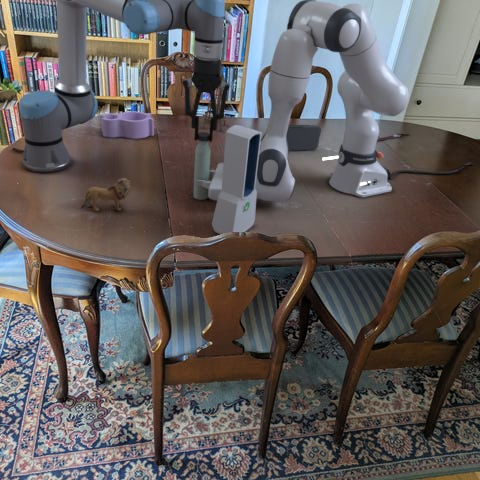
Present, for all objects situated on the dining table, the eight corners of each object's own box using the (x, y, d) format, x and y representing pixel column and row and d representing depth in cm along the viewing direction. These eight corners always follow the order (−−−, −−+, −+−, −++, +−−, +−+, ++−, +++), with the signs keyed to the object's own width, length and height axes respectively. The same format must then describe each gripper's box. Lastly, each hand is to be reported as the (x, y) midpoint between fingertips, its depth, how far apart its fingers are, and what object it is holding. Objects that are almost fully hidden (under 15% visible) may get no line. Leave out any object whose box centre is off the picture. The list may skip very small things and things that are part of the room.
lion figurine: (130, 201, 143) (129, 174, 138) (133, 209, 139) (132, 182, 134) (79, 205, 138) (76, 178, 133) (81, 214, 134) (78, 186, 129)
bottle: (204, 192, 153) (208, 133, 142) (210, 198, 149) (213, 138, 139) (191, 194, 151) (193, 134, 140) (196, 200, 148) (199, 139, 137)
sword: (406, 132, 223) (406, 130, 222) (411, 134, 221) (412, 132, 220) (362, 144, 207) (363, 141, 206) (368, 146, 205) (368, 143, 204)
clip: (103, 139, 182) (102, 122, 178) (101, 128, 192) (100, 111, 188) (155, 138, 188) (155, 121, 184) (150, 127, 198) (149, 111, 194)
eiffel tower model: (220, 131, 201) (226, 58, 185) (202, 128, 202) (205, 55, 186) (225, 124, 209) (231, 54, 193) (207, 122, 210) (211, 51, 194)
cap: (199, 141, 138) (199, 137, 137) (195, 137, 141) (195, 132, 140) (211, 141, 139) (212, 136, 138) (207, 136, 142) (207, 131, 141)
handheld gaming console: (315, 147, 196) (319, 124, 190) (317, 149, 194) (322, 126, 188) (264, 149, 189) (267, 125, 183) (266, 152, 187) (269, 127, 181)
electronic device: (232, 242, 129) (242, 138, 113) (210, 232, 132) (217, 130, 116) (255, 224, 138) (267, 126, 122) (233, 216, 141) (243, 119, 125)
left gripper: (175, 57, 124) (173, 141, 137) (237, 64, 124) (230, 147, 137) (179, 51, 130) (177, 132, 143) (238, 58, 130) (232, 138, 143)
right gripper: (246, 161, 153) (205, 155, 154) (239, 188, 136) (192, 182, 137) (244, 178, 157) (204, 173, 157) (237, 207, 139) (192, 201, 140)
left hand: (203, 139), depth 140 cm, fingers closed on cap, 4 cm apart
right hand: (198, 177), depth 147 cm, fingers closed on bottle, 5 cm apart
